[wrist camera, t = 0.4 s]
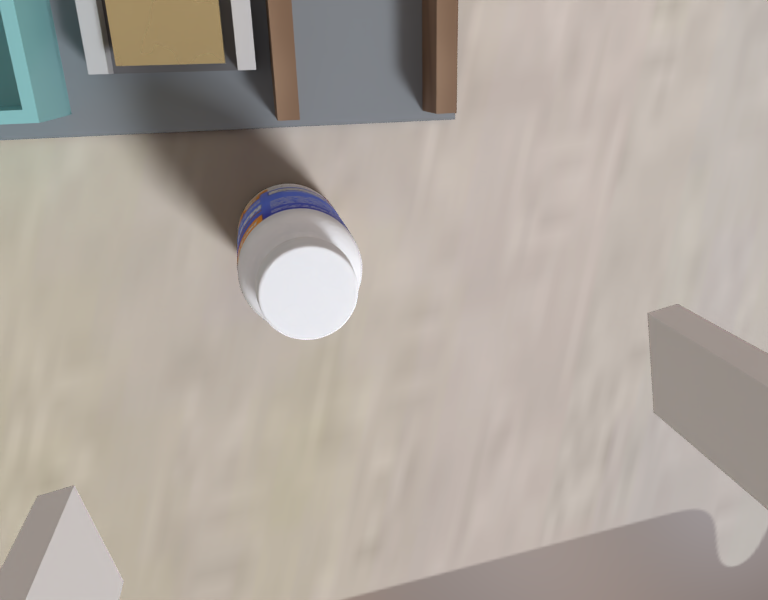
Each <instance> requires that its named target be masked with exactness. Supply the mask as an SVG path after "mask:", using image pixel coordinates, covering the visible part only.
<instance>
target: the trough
mask: <svg viewBox="0 0 768 600" xmlns="http://www.w3.org/2000/svg"><path fill="white" fill-rule="evenodd" d="M265 2H266V14H267V25H268V37H269V49H270V61H271V73H272V84H273V96H274V108H275V117H276V119H277V120H278V121H286V120H300V113H299V99H298V85H297V71H296V57H295V43H294V29H293V15H292V1H291V0H265ZM457 38H458V0H422V106H423V111H426V112H430V113H435V114H445V113H456V110H457Z"/></svg>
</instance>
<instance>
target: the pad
mask: <svg viewBox="0 0 768 600" xmlns="http://www.w3.org/2000/svg"><path fill="white" fill-rule="evenodd" d="M105 5H106V11H107V16H108V22H109V28H110V34H111V40H112V46H113V52H114V58H115V64H116V66H148V65H186V64H223V63H226V61H225V52H224V43H223V34H222V24H221V15H220V6H219V0H105Z"/></svg>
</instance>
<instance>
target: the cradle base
mask: <svg viewBox="0 0 768 600" xmlns="http://www.w3.org/2000/svg"><path fill="white" fill-rule="evenodd" d="M75 3H76V9H77V14H78V20H79V25H80V31H81V36H82V42H83V47H84V52H85V58H86V63H87V69H88V74H89V75H92V74H126V73H161V72H196V71H231V70H256V61H255V50H254V39H253V29H252V18H251V7H250V0H219V6H220V15H221V24H222V34H223V43H224V52H225V61H226V63H223V64H186V65H148V66H116V64H115V58H114V52H113V46H112V40H111V34H110V28H109V22H108V16H107V11H106V5H105V0H75Z"/></svg>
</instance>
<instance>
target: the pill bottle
mask: <svg viewBox="0 0 768 600" xmlns="http://www.w3.org/2000/svg"><path fill="white" fill-rule="evenodd" d="M237 270H238V279H239V284H240V288H241V291H242V293H243V295H244V297H245V299H246V301H247V302H248V304H249V305H250V307H251V308H252V309H253V310H254V311H255V312H256V313H257V314H258V315H259V316H261V317H262V318H263V319H265V320H266V321H267V322H268V323H269V324H270V325H271V326H272V327H273V328H274V329H275V330H277V331H278V332H280V333H281V334H284V335H286V336H288V337H291V338H295V339H301V340H312V339H318V338H322V337H325V336H327V335H329V334H332V333H333V332H335V331H336V330H338V329H339V328H340V327H342V326H343V325H344V324H345V322H346V321H347V320H348V319H349V317H350V316H351V314H352V313H353V311H354V309H355V306H356V303H357V298H358V289H359V286H360V283H361V278H362V260H361V255H360V252H359V248H358V246H357V244H356V242H355V240H354V238H353V236H352V235H351V233H350V232H349V230H348V229H347V227H346V226H345V224H344V223H343V221H342V220H341V218H340V217H339V215H338V214H337V212H336V211H335V209H334V208H333V206H332V205H331V204H330V203H329V201H328V200H326V199H325V198H324V197H323V196H322V195H321V194H319V193H318V192H316V191H314V190H312V189H310V188H308V187H305V186H302V185H298V184H280V185H275V186H272V187H269V188H267V189H265V190H263V191H261V192H260V193H258V194H257V195H256V196H255V197H254V198H253V199H252V200H251V201H250V202H249V203H248V204H247V206H246V207H245V209H244V211H243V213H242V215H241V217H240V221H239V225H238V231H237Z"/></svg>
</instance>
